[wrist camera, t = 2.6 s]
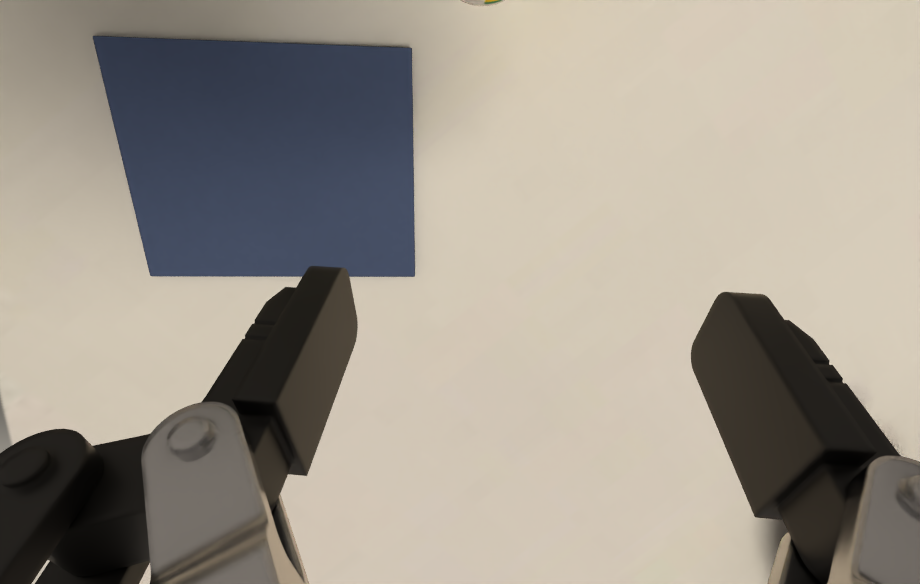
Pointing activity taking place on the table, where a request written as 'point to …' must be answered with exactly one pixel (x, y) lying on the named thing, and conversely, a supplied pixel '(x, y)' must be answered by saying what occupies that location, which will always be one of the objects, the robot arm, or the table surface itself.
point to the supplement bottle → (482, 2)
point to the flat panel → (265, 154)
